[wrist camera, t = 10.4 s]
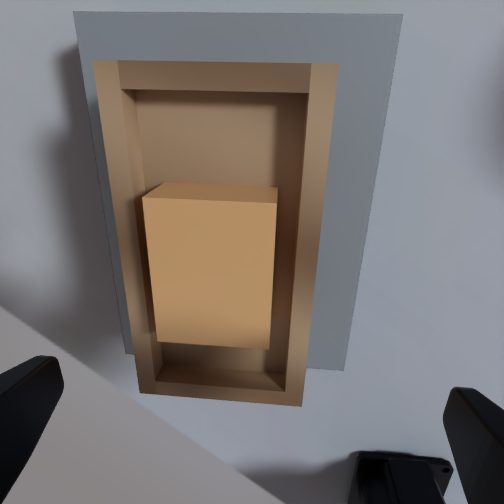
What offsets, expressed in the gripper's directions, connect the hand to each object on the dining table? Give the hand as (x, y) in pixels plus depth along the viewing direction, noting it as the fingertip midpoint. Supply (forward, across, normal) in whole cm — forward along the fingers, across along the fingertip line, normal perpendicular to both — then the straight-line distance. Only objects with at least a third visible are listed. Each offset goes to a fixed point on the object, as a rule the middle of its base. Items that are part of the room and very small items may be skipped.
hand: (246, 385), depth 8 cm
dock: (+12, +2, -1) cm, 12 cm away
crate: (+5, +1, -1) cm, 5 cm away
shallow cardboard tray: (+9, +2, -1) cm, 9 cm away
